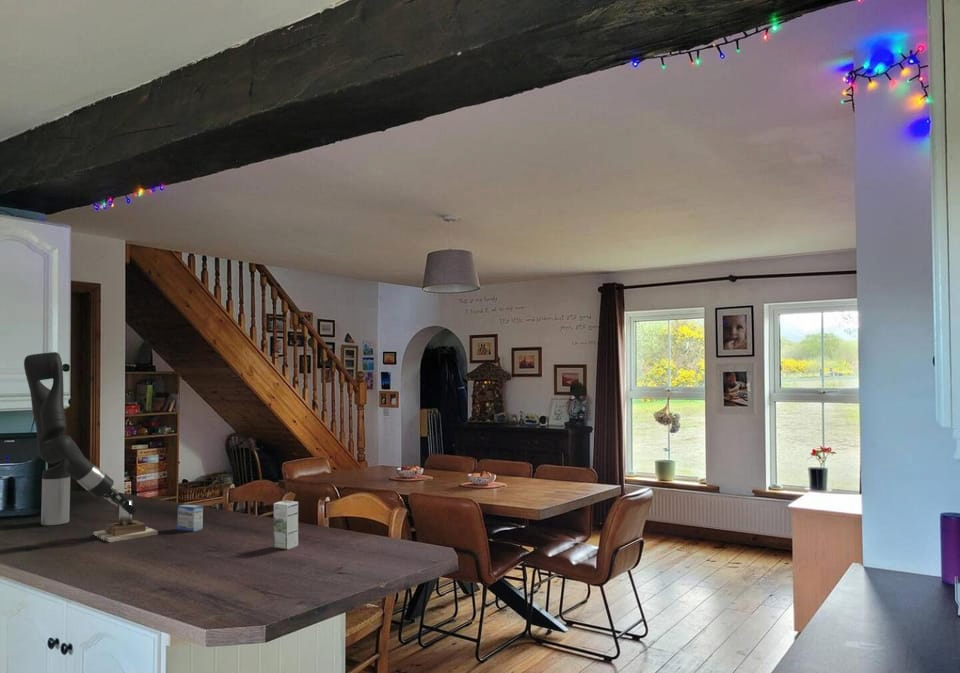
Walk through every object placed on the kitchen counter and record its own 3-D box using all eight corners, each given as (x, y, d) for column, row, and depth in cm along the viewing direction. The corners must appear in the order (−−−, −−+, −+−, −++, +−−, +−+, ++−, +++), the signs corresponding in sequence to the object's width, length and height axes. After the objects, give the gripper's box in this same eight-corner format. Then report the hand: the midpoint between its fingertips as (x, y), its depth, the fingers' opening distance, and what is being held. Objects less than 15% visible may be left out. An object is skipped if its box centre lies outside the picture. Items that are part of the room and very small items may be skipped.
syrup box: (298, 545, 226) (299, 501, 227) (286, 550, 220) (287, 504, 221) (285, 544, 228) (285, 499, 229) (272, 548, 223) (273, 502, 224)
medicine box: (176, 530, 250) (177, 506, 251) (186, 527, 255) (186, 503, 255) (193, 531, 247) (194, 507, 248) (203, 529, 252) (203, 505, 252)
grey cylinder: (117, 524, 244) (117, 501, 244) (129, 522, 246) (129, 499, 247) (121, 525, 241) (121, 502, 241) (133, 523, 244) (133, 500, 244)
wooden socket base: (92, 535, 243) (93, 524, 243) (140, 527, 255) (140, 517, 255) (108, 542, 232) (108, 531, 232) (157, 534, 244) (157, 523, 244)
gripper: (110, 474, 234) (147, 505, 242) (96, 470, 244) (132, 500, 252) (93, 492, 230) (131, 523, 238) (79, 487, 240) (116, 517, 248)
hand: (131, 511), depth 245 cm, fingers closed on grey cylinder, 4 cm apart
